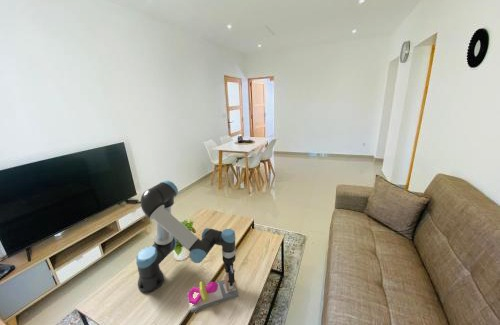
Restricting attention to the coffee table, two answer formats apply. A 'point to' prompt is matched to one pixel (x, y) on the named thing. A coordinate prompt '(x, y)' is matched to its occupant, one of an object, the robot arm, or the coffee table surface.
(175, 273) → the coffee table surface
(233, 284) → the terracotta block
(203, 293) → the toy
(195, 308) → the foundation slab
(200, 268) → the coffee table surface
